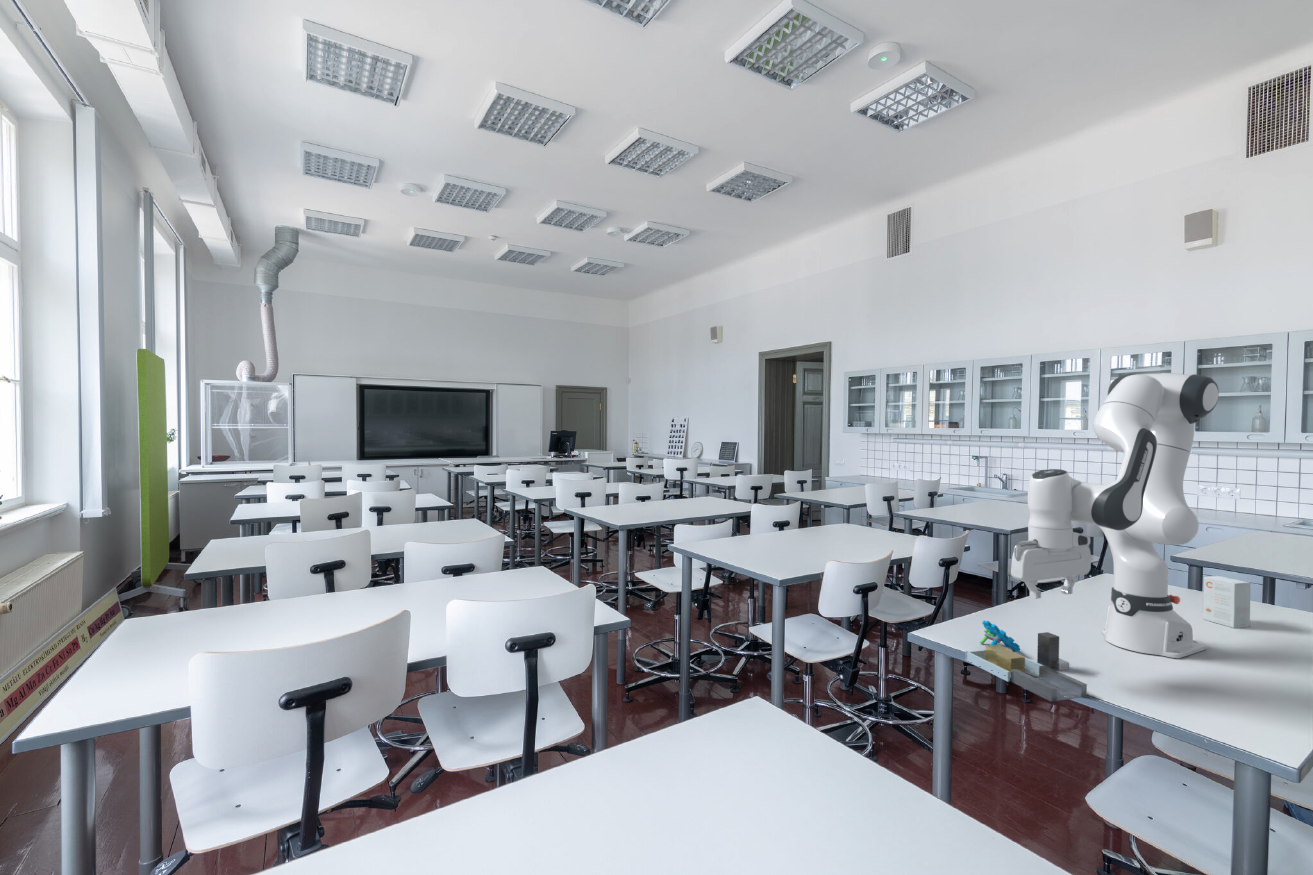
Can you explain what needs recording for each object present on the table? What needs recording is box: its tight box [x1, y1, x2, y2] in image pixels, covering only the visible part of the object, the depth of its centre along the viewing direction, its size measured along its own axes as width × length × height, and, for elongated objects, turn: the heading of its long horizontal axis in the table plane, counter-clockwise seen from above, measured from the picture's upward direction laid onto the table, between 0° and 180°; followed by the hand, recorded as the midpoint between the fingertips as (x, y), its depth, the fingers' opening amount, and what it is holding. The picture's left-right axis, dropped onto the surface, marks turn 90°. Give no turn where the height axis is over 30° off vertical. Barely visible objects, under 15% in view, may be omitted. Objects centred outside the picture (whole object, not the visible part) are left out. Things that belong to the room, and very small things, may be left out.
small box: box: [1202, 575, 1251, 629], centre depth 172 cm, size 8×6×13 cm
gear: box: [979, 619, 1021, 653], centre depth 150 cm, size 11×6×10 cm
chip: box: [997, 651, 1026, 677], centre depth 136 cm, size 4×4×4 cm
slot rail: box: [1010, 665, 1088, 703], centre depth 127 cm, size 10×10×3 cm
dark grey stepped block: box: [1036, 631, 1070, 672], centre depth 139 cm, size 5×5×8 cm
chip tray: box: [964, 648, 1043, 683], centre depth 138 cm, size 11×12×2 cm
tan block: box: [984, 643, 1014, 665], centre depth 140 cm, size 4×4×4 cm
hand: (1051, 595), depth 139 cm, fingers open, 8 cm apart
